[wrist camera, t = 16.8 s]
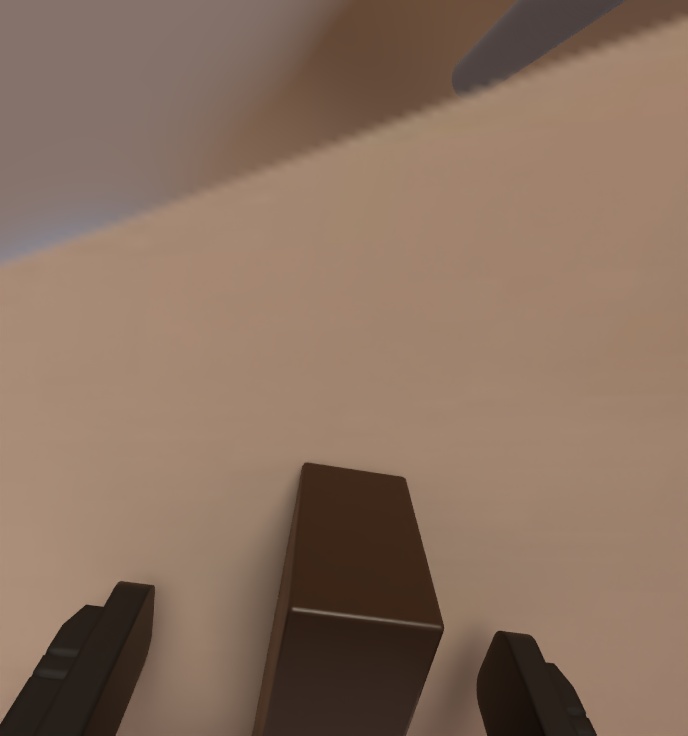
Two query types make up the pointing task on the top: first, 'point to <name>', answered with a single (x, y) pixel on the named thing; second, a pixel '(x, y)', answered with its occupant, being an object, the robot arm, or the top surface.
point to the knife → (350, 611)
